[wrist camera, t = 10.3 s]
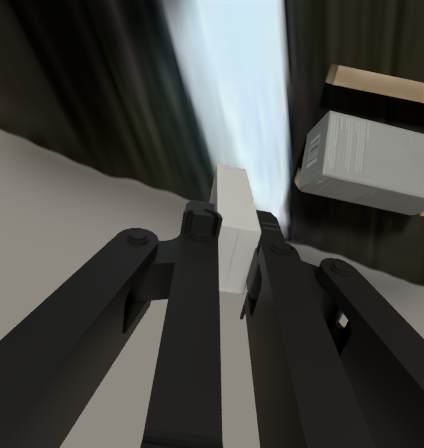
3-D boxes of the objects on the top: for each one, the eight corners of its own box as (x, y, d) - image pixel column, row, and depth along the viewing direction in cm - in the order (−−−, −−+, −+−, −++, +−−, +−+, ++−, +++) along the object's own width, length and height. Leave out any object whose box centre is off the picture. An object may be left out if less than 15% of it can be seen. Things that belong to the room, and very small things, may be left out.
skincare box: (296, 190, 42) (406, 221, 44) (324, 171, 35) (454, 208, 37) (305, 131, 44) (411, 163, 46) (334, 101, 37) (457, 140, 39)
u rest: (330, 64, 40) (345, 66, 35) (470, 93, 41) (500, 98, 36) (294, 180, 46) (302, 194, 42) (414, 202, 48) (434, 217, 43)
